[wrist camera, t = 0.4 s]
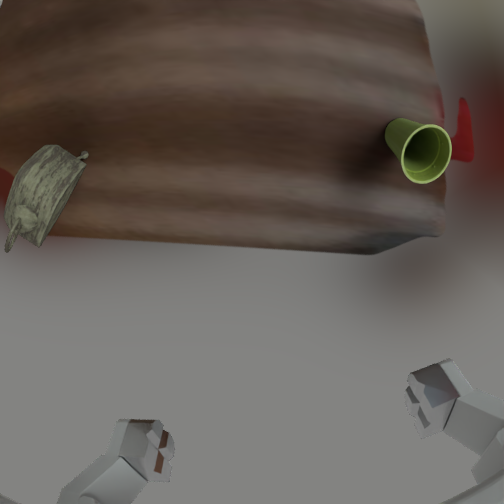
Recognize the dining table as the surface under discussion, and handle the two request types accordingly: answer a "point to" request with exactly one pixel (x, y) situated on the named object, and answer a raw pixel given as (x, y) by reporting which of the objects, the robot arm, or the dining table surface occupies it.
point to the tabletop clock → (41, 193)
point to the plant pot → (419, 149)
